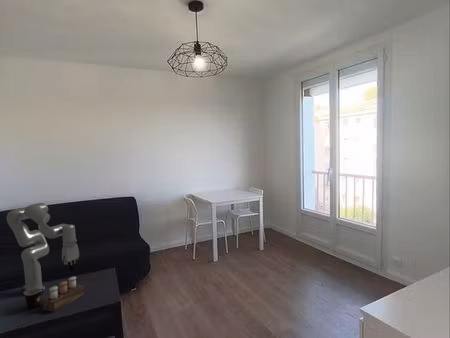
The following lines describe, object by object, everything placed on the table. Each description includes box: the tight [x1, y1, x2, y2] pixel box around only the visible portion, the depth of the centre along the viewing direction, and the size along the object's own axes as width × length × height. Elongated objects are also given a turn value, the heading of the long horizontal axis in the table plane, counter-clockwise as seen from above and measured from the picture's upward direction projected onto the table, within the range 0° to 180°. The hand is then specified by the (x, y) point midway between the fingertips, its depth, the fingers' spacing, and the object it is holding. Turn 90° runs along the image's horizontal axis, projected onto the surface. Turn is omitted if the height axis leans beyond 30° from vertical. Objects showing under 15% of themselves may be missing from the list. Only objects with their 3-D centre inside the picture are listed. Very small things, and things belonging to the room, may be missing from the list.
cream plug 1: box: [48, 285, 59, 301], centre depth 174 cm, size 5×5×8 cm
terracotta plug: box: [58, 280, 68, 295], centre depth 181 cm, size 5×5×8 cm
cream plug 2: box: [67, 276, 77, 290], centre depth 187 cm, size 5×5×8 cm
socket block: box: [41, 284, 85, 313], centre depth 181 cm, size 10×22×6 cm, turn 161°
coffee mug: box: [24, 288, 44, 311], centre depth 177 cm, size 12×9×10 cm
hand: (72, 270), depth 187 cm, fingers closed
